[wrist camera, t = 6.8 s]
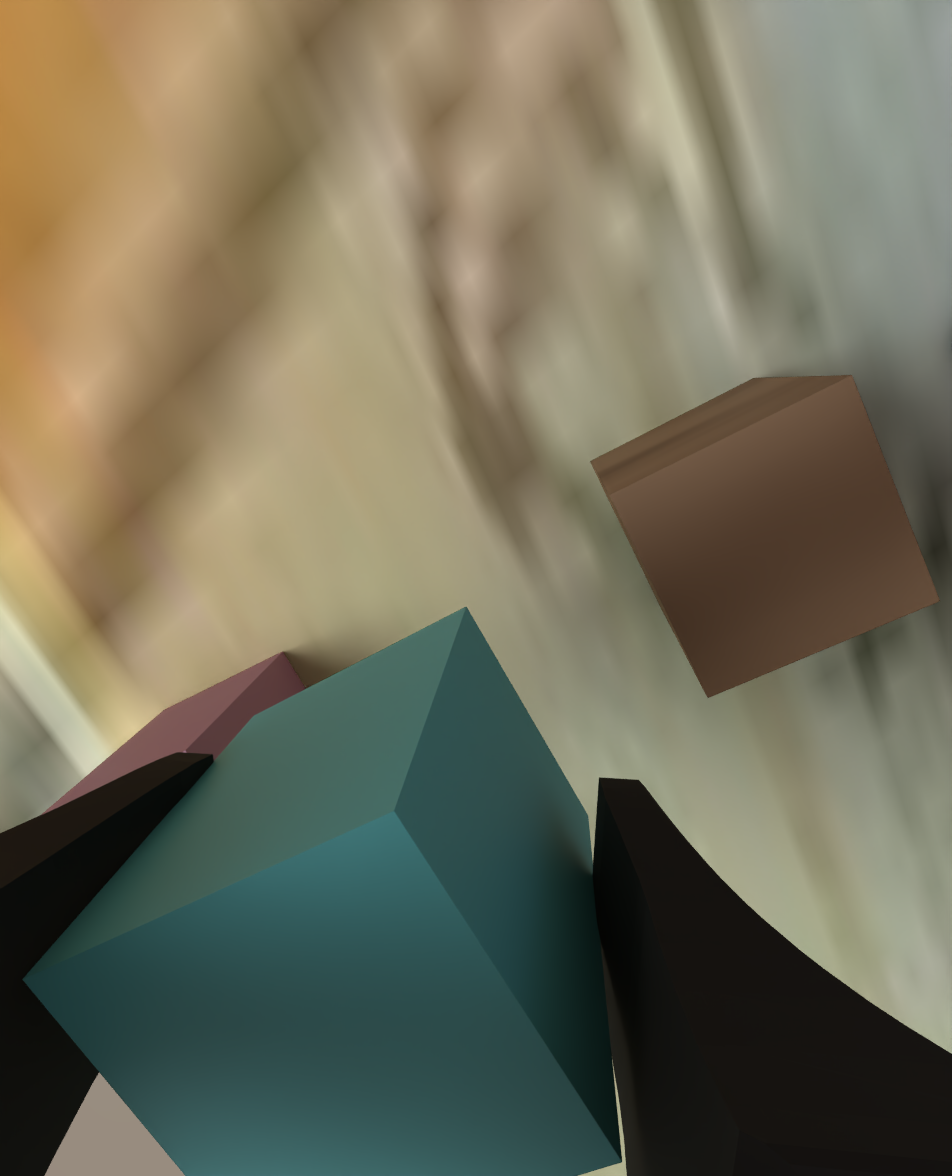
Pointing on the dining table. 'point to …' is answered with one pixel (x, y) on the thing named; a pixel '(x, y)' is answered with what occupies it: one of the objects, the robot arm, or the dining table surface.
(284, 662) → the plum block
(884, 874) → the dining table surface
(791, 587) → the walnut block
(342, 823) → the teal block
